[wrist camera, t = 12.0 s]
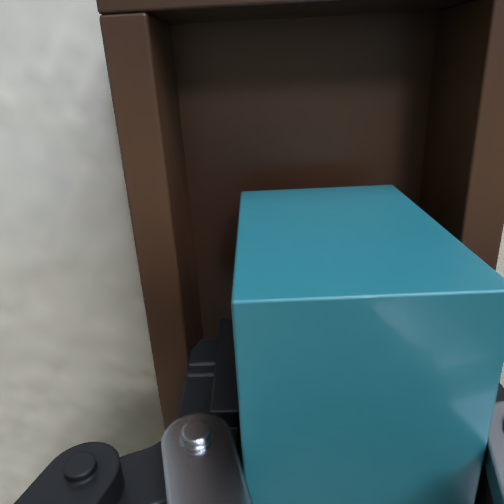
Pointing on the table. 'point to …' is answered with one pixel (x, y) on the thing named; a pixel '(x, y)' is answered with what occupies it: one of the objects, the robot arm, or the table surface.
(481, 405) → the block
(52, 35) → the table surface
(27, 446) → the table surface
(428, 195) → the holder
